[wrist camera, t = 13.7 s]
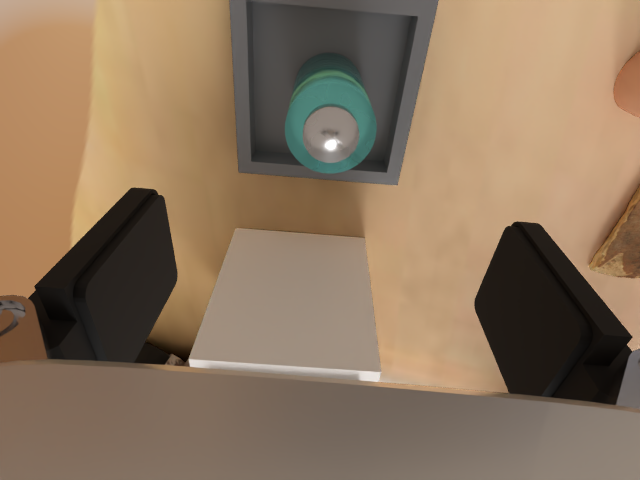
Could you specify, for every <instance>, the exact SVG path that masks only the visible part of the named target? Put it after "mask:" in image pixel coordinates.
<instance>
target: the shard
mask: <svg viewBox="0 0 640 480" xmlns="http://www.w3.org/2000/svg"><path fill="white" fill-rule="evenodd" d="M589 267H590V269H591V270H592V271H596V272H598V273H603V274H608V275H612V276H616V277H626V278H640V186H639V188H638V189H637V191H636V193H635V194H634V196H633V197H632V200H631V201H630V202H629V204H628V206H627V210H626V212H625V213H624V214H623V216H622V217H621V218H620V220H619V221H618V223H617V225H616V226H615V227H614V228H613V230H612V232H611V233H610V235H609V236H608V238H607V240H606V241H605V242H604V244H603V245H602V246H601V248H600V249H599V250H598V252H597V253H596V254H595V255H594V257H593V260H592V262H591V263H590V264H589Z"/></svg>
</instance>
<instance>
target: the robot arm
mask: <svg viewBox="0 0 640 480" xmlns="http://www.w3.org/2000/svg"><path fill="white" fill-rule="evenodd" d="M176 281H177V267H176V262H175V256H174V250H173V244H172V239H171V233H170V227H169V222H168V216H167V210H166V204H165V200H164V197H163V196H162V195H158V193H157V191H156V190H154V189H144V188H131V189H130V190H129V191H128V192H127V193H126V194H125V195H124V196H123V197H122V198H121V199H120V200H119V201H118V202H117V203H116V204H115V205H114V206H113V207H112V208H111V209H110V210H109V211H108V212H107V213H106V214H105V215H104V216H103V217H102V218H101V219H100V220H99V221H98V222H97V223H96V224H95V225H94V226H93V227H92V228H91V229H90V230H89V231H88V232H87V233H86V234H85V235H84V236H83V237H82V238H81V239H80V240H79V241H78V242H77V243H76V244H75V246H74V247H73V248H72V249H71V250H70V251H69V252H68V253H67V254H66V255H65V256H64V257H63V258H62V259H61V260H60V261H59V262H58V263H57V264H56V265H55V266H54V267H53V268H52V269H51V270H50V271H49V272H48V273H47V274H46V275H45V276H44V277H43V278H42V279H41V280H40V281H39V282H38V283H37V284H36V285H35V289H36V291H35V292H34V293H33V294H32V295H31V296H30V297H29V298H28V299H27V298H26V297H23V296H17V295H6V296H0V480H640V349H638V350H635V351H633V352H632V351H631V349H630V348H629V347H628V346H627V343H628V342H629V341H630V340H631V338H632V336H631V335H630V333H629V332H628V331H627V330H626V329H625V327H624V326H623V325H622V324H621V322H620V321H619V320H618V319H617V318H616V316H615V315H614V314H613V313H612V311H611V310H610V309H609V308H608V307H607V305H606V304H605V303H604V302H603V300H602V299H601V298H600V297H599V296H598V294H597V293H596V292H595V291H594V289H593V288H592V287H591V286H590V285H589V283H588V282H587V281H586V280H585V279H584V277H583V276H582V275H581V274H580V272H579V271H578V270H577V269H576V268H575V266H574V265H573V264H572V263H571V261H570V260H569V259H568V258H567V257H566V255H565V254H564V253H563V252H562V250H561V249H560V248H559V247H558V246H557V244H556V243H555V242H554V241H553V239H552V238H551V237H550V236H549V235H548V233H547V232H546V231H545V230H544V228H543V227H542V226H541V225H540V224H538V223H528V222H514V223H513V224H512V225H511V226H508V227H506V228H505V230H504V232H503V234H502V236H501V239H500V241H499V243H498V246H497V248H496V250H495V253H494V255H493V258H492V260H491V262H490V265H489V267H488V269H487V272H486V274H485V276H484V279H483V281H482V283H481V286H480V288H479V291H478V293H477V295H476V298H475V311H476V313H477V316H478V318H479V321H480V323H481V325H482V328H483V330H484V333H485V335H486V338H487V340H488V342H489V345H490V347H491V350H492V352H493V355H494V357H495V359H496V362H497V364H498V367H499V369H500V372H501V374H502V376H503V379H504V381H505V384H506V386H507V388H508V391H509V393H499V392H488V391H476V390H465V389H454V388H442V387H431V386H420V385H408V384H396V383H384V382H372V381H360V380H348V379H336V378H324V377H312V376H300V375H287V374H275V373H262V372H249V371H236V370H223V369H210V368H198V367H185V366H172V365H157V364H141V363H134V362H135V360H136V358H137V356H138V355H139V353H140V351H141V349H142V347H143V345H144V343H145V341H146V339H147V338H148V336H149V334H150V332H151V330H152V328H153V326H154V324H155V322H156V321H157V319H158V317H159V315H160V313H161V311H162V309H163V307H164V305H165V304H166V302H167V300H168V298H169V296H170V294H171V292H172V290H173V288H174V287H175V284H176Z"/></svg>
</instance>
